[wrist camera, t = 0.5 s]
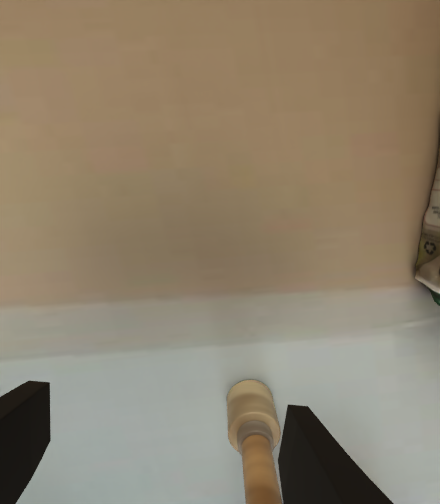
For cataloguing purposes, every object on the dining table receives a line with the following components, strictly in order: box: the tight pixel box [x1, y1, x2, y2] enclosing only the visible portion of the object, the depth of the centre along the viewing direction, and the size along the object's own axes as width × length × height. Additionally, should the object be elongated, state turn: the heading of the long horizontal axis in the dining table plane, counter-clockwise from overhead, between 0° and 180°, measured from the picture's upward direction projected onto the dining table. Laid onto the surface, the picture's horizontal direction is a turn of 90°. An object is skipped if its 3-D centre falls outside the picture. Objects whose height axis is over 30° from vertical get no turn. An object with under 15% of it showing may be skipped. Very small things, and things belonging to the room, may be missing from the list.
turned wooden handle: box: [227, 380, 282, 504], centre depth 16 cm, size 3×3×10 cm
